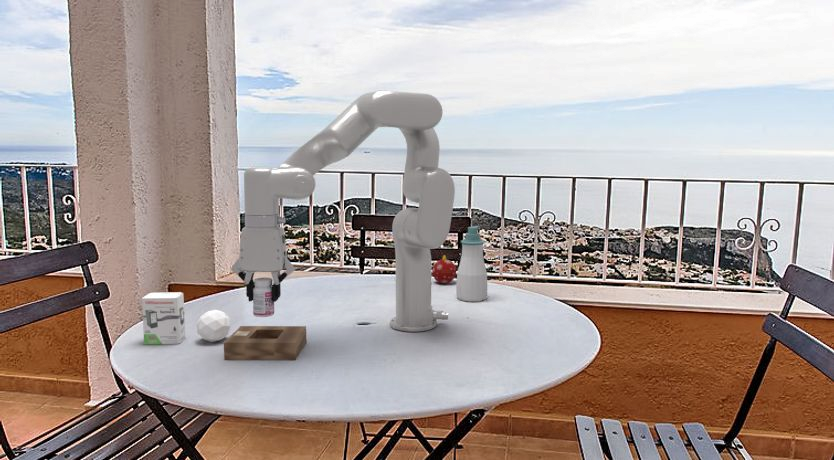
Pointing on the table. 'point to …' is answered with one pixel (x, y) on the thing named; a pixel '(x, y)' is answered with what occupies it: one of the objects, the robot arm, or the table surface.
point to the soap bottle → (472, 269)
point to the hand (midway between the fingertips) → (263, 299)
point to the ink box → (163, 318)
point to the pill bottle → (263, 298)
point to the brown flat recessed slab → (265, 343)
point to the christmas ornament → (444, 270)
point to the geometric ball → (213, 325)
